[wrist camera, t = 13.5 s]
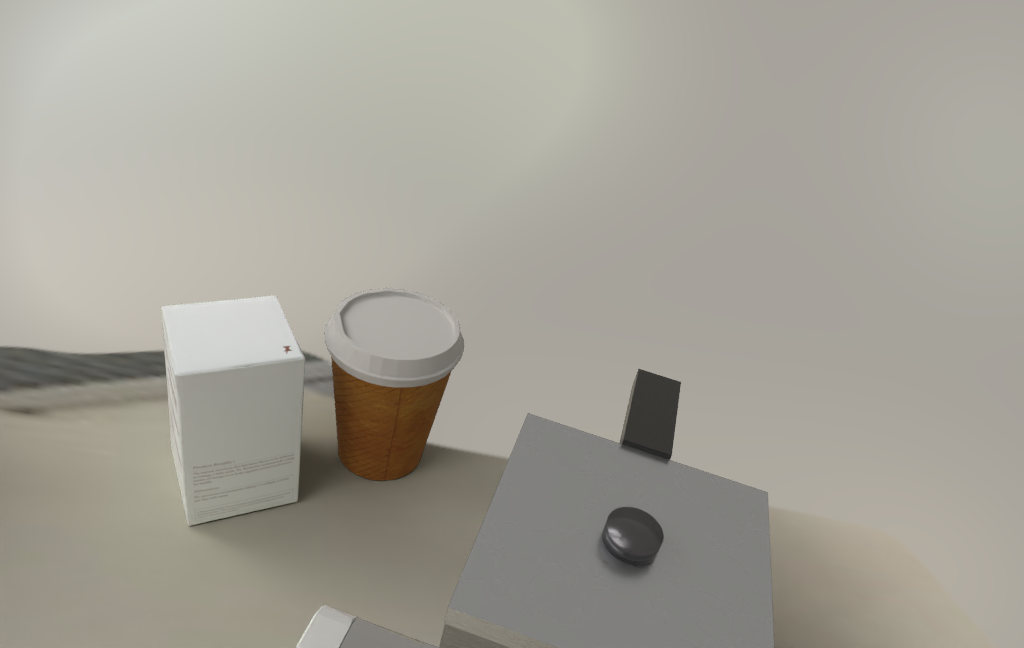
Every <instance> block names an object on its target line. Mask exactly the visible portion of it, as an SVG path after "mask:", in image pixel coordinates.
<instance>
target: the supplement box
mask: <svg viewBox="0 0 1024 648" xmlns="http://www.w3.org/2000/svg"><path fill="white" fill-rule="evenodd" d="M161 313H162V326H163V339H164V351H165V363H166V374H167V387H168V403H169V419H170V436H171V448H172V453H173V457H174V462H175V467H176V472H177V477H178V482H179V487H180V491H181V496H182V501H183V506H184V510H185V515H186V519H187V523H188V525H189V526H191V525H196V524H200V523H204V522H208V521H213V520H217V519H222V518H226V517H231V516H235V515H240V514H244V513H248V512H253V511H257V510H262V509H266V508H271V507H275V506H280V505H284V504H289V503H294V502H297V501H298V492H299V470H300V451H301V432H302V413H303V394H304V374H305V357H304V355H303V353H302V351H301V349H300V347H299V345H298V343H297V341H296V338H295V337H294V335H293V332H292V330H291V327H290V325H289V323H288V321H287V318H286V316H285V314H284V312H283V309H282V307H281V305H280V303H279V301H278V298H277V297H276V296H265V297H255V298H245V299H234V300H223V301H212V302H201V303H191V304H179V305H167V306H161Z"/></svg>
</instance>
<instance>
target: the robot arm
mask: <svg viewBox="0 0 1024 648" xmlns="http://www.w3.org/2000/svg"><path fill="white" fill-rule="evenodd" d="M295 648H439V647H436V646H433V645H430V644H428V643H425V642H421V641H418V640H416V639H413V638H410V637H408V636H405V635H402V634H400V633H397V632H394V631H392V630H389V629H386V628H383V627H381V626H378V625H375V624H373V623H370V622H367V621H365V620H362V619H359V618H358V617H356V616H354V615H351V614H348V613H345V612H343V611H340V610H337V609H334V608H331V607H329V606H326V605H323V606H322V607H321V608H320V609H319V610H318V611H317V612H316V614H315V615H314V616H313V618H312V620H311V621H310V623H309V625H308V627H307V628H306V630H305V632H304V634H303V635H302V637H301V639H300V640H299V642H298V644H297V646H296V647H295Z"/></svg>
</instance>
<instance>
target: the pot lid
mask: <svg viewBox="0 0 1024 648" xmlns="http://www.w3.org/2000/svg"><path fill="white" fill-rule="evenodd" d="M680 384H681V382H678V381H675V380H672V379H669V378H666V377H663V376H660V375H656V374H653V373H650V372H647V371H644V370H641V369H638V372H637V375H636V378H635V381H634V383H633V386H632V390H631V395H630V399H629V404H628V408H627V413H626V417H625V422H624V426H623V431H622V435H621V440H620V443H617V442H614V441H610V440H608V439H605V438H602V437H598V436H596V435H593V434H589V433H587V432H584V431H580V430H577V429H574V428H571V427H568V426H565V425H562V424H559V423H556V422H553V421H550V420H547V419H544V418H541V417H538V416H535V415H532V414H529V413H528V414H527V417H526V419H525V421H524V424H523V426H522V429H521V431H520V434H519V436H518V438H517V441H516V443H515V446H514V448H513V451H512V453H511V455H510V458H509V460H508V463H507V465H506V468H505V470H504V472H503V475H502V477H501V480H500V482H499V485H498V487H497V489H496V492H495V494H494V497H493V499H492V502H491V504H490V506H489V509H488V511H487V514H486V516H485V519H484V521H483V523H482V526H481V528H480V531H479V533H478V536H477V538H476V540H475V543H474V545H473V548H472V550H471V553H470V555H469V557H468V560H467V562H466V565H465V567H464V570H463V572H462V574H461V577H460V579H459V582H458V584H457V587H456V589H455V591H454V594H453V596H452V599H451V601H450V604H449V606H448V609H447V614H446V618H445V622H444V624H447V625H450V626H453V627H455V628H458V629H461V630H463V631H466V632H469V633H471V634H474V635H477V636H480V637H482V638H485V639H488V640H490V641H493V642H496V643H498V644H501V645H504V646H506V647H509V648H774V630H773V606H772V582H771V558H770V534H769V510H768V493H767V492H765V491H762V490H759V489H756V488H753V487H750V486H747V485H744V484H741V483H738V482H735V481H732V480H729V479H726V478H722V477H719V476H717V475H714V474H710V473H707V472H704V471H701V470H698V469H695V468H692V467H689V466H686V465H683V464H680V463H677V462H674V461H671V460H670V458H671V455H672V448H673V440H674V432H675V424H676V415H677V408H678V399H679V392H680Z"/></svg>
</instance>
